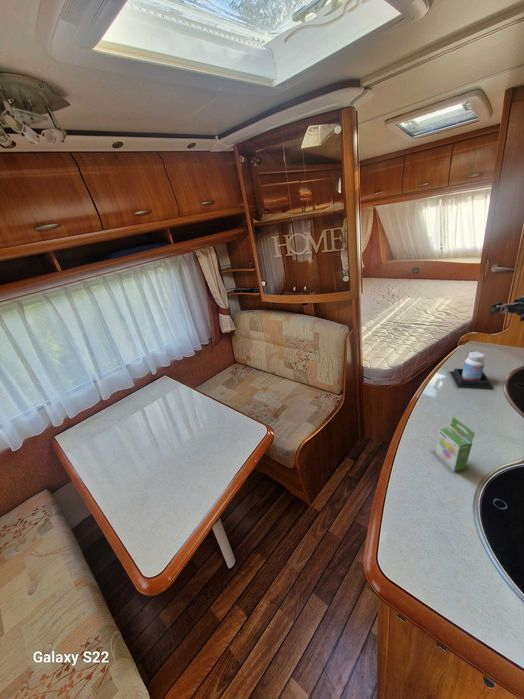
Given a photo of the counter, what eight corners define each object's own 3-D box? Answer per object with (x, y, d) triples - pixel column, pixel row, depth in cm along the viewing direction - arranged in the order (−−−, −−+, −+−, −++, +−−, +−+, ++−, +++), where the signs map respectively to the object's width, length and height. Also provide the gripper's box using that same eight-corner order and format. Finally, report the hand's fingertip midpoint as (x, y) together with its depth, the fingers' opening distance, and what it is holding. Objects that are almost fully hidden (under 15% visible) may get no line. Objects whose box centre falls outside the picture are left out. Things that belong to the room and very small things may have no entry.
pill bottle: (465, 383, 106) (471, 358, 101) (458, 375, 111) (463, 351, 106) (483, 383, 104) (490, 357, 100) (475, 374, 110) (481, 350, 105)
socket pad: (481, 374, 111) (483, 368, 110) (492, 390, 102) (494, 383, 100) (450, 373, 115) (451, 367, 113) (457, 388, 105) (459, 382, 104)
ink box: (434, 453, 81) (440, 419, 75) (446, 450, 81) (453, 416, 75) (453, 472, 75) (462, 437, 69) (465, 469, 75) (475, 433, 69)
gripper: (510, 290, 103) (485, 301, 98) (561, 297, 92) (535, 309, 86) (505, 309, 107) (480, 320, 101) (553, 318, 95) (528, 331, 89)
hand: (506, 315), depth 94 cm, fingers open, 8 cm apart
